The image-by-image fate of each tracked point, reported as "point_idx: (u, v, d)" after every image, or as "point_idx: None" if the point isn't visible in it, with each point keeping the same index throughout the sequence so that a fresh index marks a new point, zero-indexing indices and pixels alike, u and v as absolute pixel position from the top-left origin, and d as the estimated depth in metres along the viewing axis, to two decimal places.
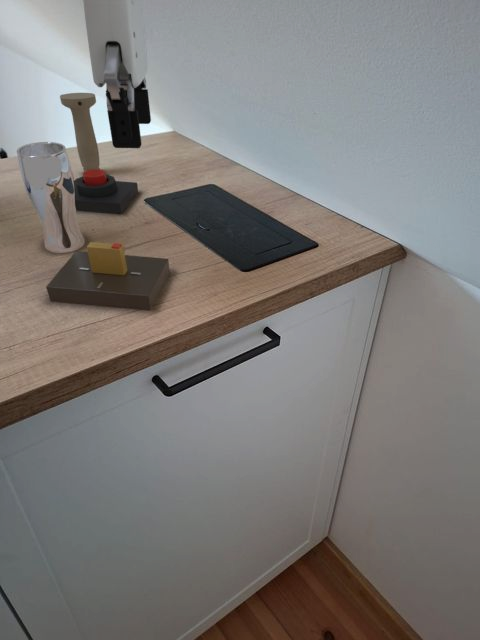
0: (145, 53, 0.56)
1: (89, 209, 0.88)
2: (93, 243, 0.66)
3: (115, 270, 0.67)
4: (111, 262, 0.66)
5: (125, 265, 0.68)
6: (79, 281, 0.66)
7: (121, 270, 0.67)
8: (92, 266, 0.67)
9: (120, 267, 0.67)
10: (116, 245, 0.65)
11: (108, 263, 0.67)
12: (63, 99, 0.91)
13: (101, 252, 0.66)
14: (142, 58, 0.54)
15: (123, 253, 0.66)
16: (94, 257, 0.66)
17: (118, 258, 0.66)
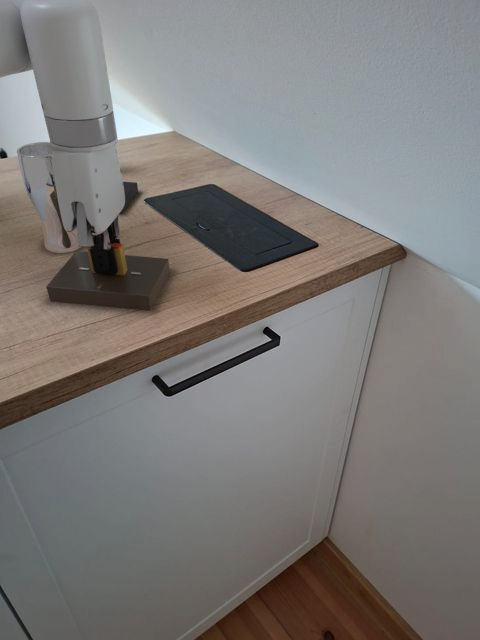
0: (118, 197, 0.63)
1: None
2: None
3: None
4: None
5: (125, 265, 0.68)
6: (79, 281, 0.66)
7: (121, 270, 0.67)
8: (92, 266, 0.67)
9: (120, 267, 0.67)
10: (116, 245, 0.65)
11: None
12: None
13: None
14: (110, 207, 0.61)
15: (123, 253, 0.66)
16: None
17: (118, 258, 0.66)
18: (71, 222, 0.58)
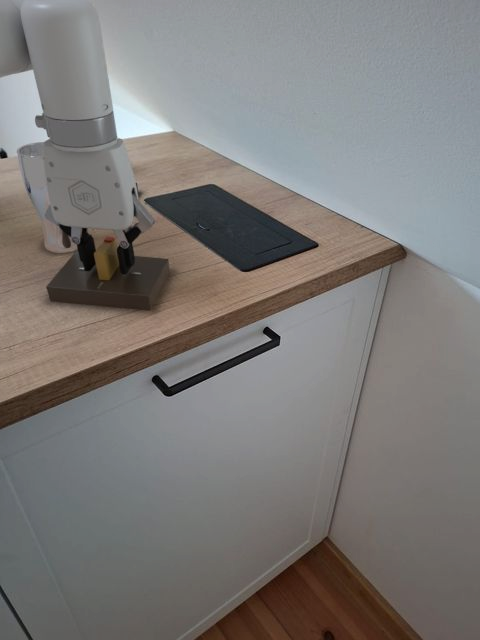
0: None
1: None
2: (97, 251, 0.64)
3: (116, 263, 0.69)
4: (114, 257, 0.68)
5: None
6: (79, 281, 0.66)
7: None
8: (108, 273, 0.66)
9: None
10: (109, 238, 0.67)
11: (113, 260, 0.67)
12: None
13: (109, 251, 0.66)
14: None
15: None
16: (108, 261, 0.65)
17: (116, 248, 0.68)
18: (133, 213, 0.61)
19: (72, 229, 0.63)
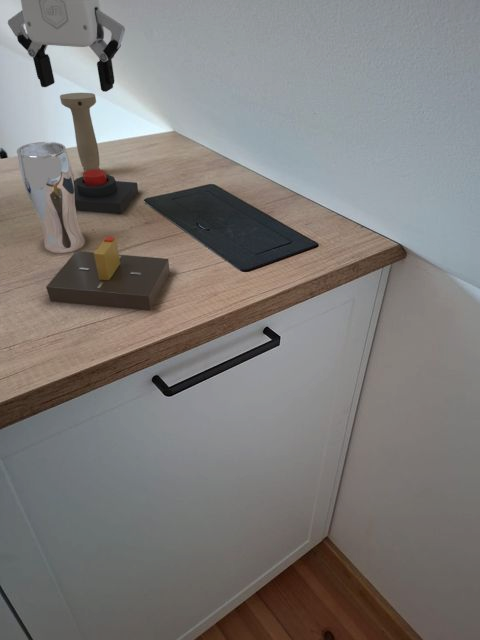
0: None
1: (89, 209, 0.88)
2: (97, 251, 0.64)
3: (116, 263, 0.69)
4: (114, 257, 0.68)
5: None
6: (79, 281, 0.66)
7: (118, 259, 0.69)
8: (108, 273, 0.66)
9: (118, 257, 0.69)
10: (109, 238, 0.67)
11: (113, 260, 0.67)
12: (63, 99, 0.91)
13: (109, 251, 0.66)
14: None
15: None
16: (108, 261, 0.65)
17: (116, 248, 0.68)
18: (96, 30, 0.70)
19: (33, 41, 0.72)
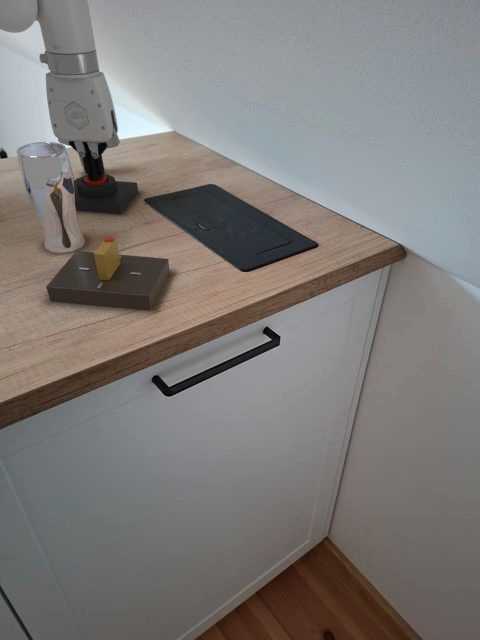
0: None
1: (89, 209, 0.88)
2: (97, 251, 0.64)
3: (116, 263, 0.69)
4: (114, 257, 0.68)
5: None
6: (79, 281, 0.66)
7: (118, 259, 0.69)
8: (108, 273, 0.66)
9: (118, 257, 0.69)
10: (109, 238, 0.67)
11: (113, 260, 0.67)
12: None
13: (109, 251, 0.66)
14: None
15: None
16: (108, 261, 0.65)
17: (116, 248, 0.68)
18: (112, 129, 0.82)
19: (76, 145, 0.85)
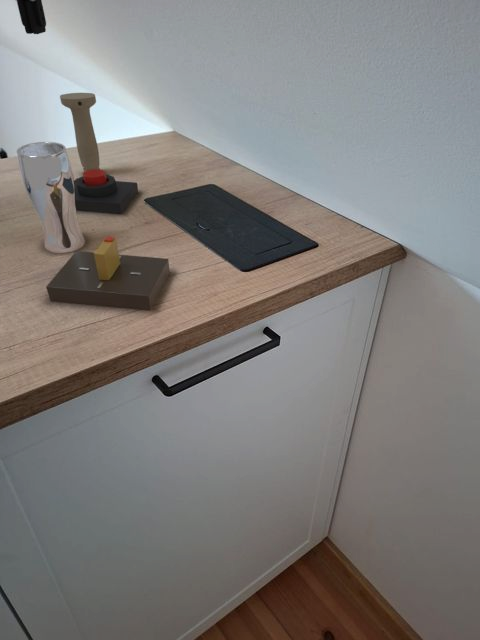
0: None
1: (89, 209, 0.88)
2: (97, 251, 0.64)
3: (116, 263, 0.69)
4: (114, 257, 0.68)
5: None
6: (79, 281, 0.66)
7: (118, 259, 0.69)
8: (108, 273, 0.66)
9: (118, 257, 0.69)
10: (109, 238, 0.67)
11: (113, 260, 0.67)
12: (63, 99, 0.91)
13: (109, 251, 0.66)
14: None
15: None
16: (108, 261, 0.65)
17: (116, 248, 0.68)
18: None
19: None
